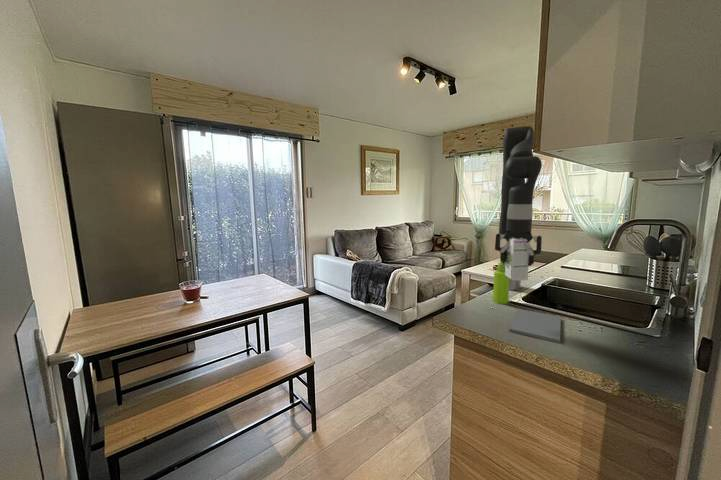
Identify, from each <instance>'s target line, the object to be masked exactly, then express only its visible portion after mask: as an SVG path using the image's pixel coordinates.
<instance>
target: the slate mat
mask: <svg viewBox="0 0 721 480" xmlns="http://www.w3.org/2000/svg"><path fill="white" fill-rule="evenodd" d="M561 319H562V317H561V316H560V315H559V316H558V315H551V314H546V313H541V312H537V311H531V310H525V309H521V308H517V310H516V311H515V314H514V317H513V319H512V322H511V325H510V327H509V332H510V333H514V334H519V335H522V336H527V337H531V338H536V339H540V340H541V339H542V340H545V341H549V342H554V343H559V344H560V343H561V324H562V323H561V321H562V320H561Z"/></svg>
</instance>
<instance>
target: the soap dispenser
mask: <svg viewBox="0 0 721 480" xmlns="http://www.w3.org/2000/svg"><path fill="white" fill-rule="evenodd" d="M498 258H499V259H500V255H499V256H498ZM493 272H494V274H493V275H494V276H493V291H492V302H494V303H496V304H499V305H500V304H501V305H507V304H508V303H509V291H510V290H509V278H508V277H506V276H505V263H502V261H501V260H499V262H498V263H497V269H496V270H494V271H493Z"/></svg>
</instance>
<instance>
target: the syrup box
mask: <svg viewBox="0 0 721 480" xmlns="http://www.w3.org/2000/svg"><path fill="white" fill-rule="evenodd" d="M509 240H510V239H509ZM524 240H525V242H526V243H527V244H528V246H530V245H531V241H529V242H527V240H526V239H524ZM506 243H507V240H506V239H505V244H506ZM529 255H530V254H529V252H528V251H527V250H526V249H525V247H524V242H523V240H522V239H520V238H515V239H511V240H510V246H509V247H508V248H507V249H506V257H505V276H506V277H508V278H509V279H511V280H521V281H528V280H529V267H530V266H528V264H529Z"/></svg>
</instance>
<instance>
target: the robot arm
mask: <svg viewBox="0 0 721 480" xmlns="http://www.w3.org/2000/svg"><path fill="white" fill-rule="evenodd" d="M534 140H535V131H534V128H533V127H532V126H530V125H524V126H515V127H508V128H506V129H505V130H504V131H503V136H502V177H501V195H500V196H501V198H500V199H501V205H500V219H499V226H498V232H497V234H495V241H494V242H495V246H494V250H495V251H496V252H499V253H500V255H499V256H500V258H499V259H500V260H501V261H502V263H505V257H506V249H507V248H508V247H509V246H510V240H511V239H515V238H520V239H522V240H523V242H524V247H525V249H526V250H527V251H528V252H529V264H528V266H529V267H532V265H534V262H535V255H541V253H542V241H543V237H542V235H533V234H532V226H533V212H534V211H533V210H534V209H533V199H534V198H533V197H534V191H535V186H536V183H537V180H538V178H539V175H540V173H541V169H542V165H543V164H542V160H541V158H540V157H538V156H537V155H534V154H533V148H534ZM503 239H504V240H505V241H506V240H507V243H506V242H505V244H504V245H503V246H502V247H501V241H502V240H503ZM509 239H510V240H509ZM524 239H526V240H527V242H529V241H530V242H531V240H533V241H534V243H536V249H535V250H534V249H533V247H532V245H531V244H530V246H528V244H527V243H526V242H525V240H524ZM500 260H499V261H500ZM521 282H522V280H511V279H509V291H518V290H521V284H522V283H521Z"/></svg>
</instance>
